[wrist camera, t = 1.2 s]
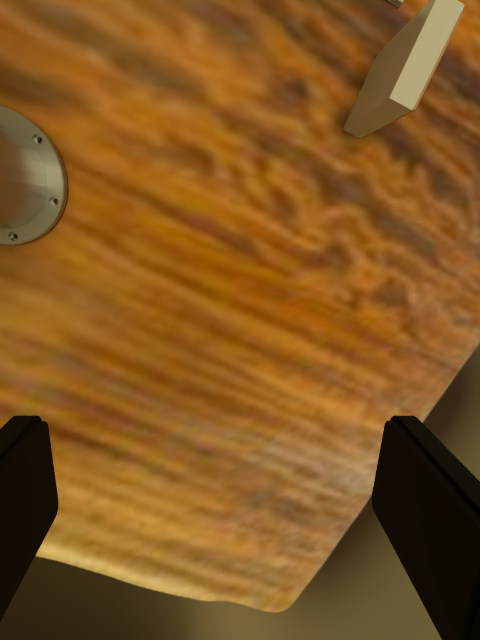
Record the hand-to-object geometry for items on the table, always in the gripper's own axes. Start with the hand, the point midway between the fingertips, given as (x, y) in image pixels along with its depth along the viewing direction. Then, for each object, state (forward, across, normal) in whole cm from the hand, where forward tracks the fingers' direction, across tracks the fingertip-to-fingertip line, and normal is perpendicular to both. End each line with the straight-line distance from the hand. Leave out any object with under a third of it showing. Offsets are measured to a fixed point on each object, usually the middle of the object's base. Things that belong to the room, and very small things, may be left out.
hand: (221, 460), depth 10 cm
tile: (+30, -14, -18) cm, 38 cm away
